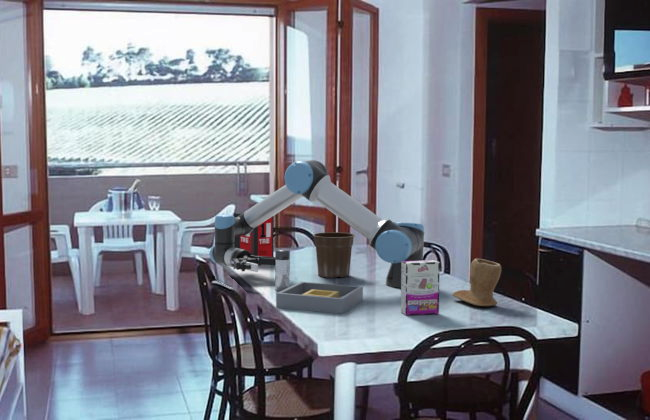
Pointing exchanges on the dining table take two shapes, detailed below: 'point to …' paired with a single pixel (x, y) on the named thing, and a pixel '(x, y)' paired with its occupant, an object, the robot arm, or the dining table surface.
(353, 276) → the dining table surface
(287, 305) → the walled tray
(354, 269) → the dining table surface
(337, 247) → the plant pot
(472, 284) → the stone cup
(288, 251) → the two-tone metal cylinder
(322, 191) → the robot arm
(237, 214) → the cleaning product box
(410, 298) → the candy bar box
